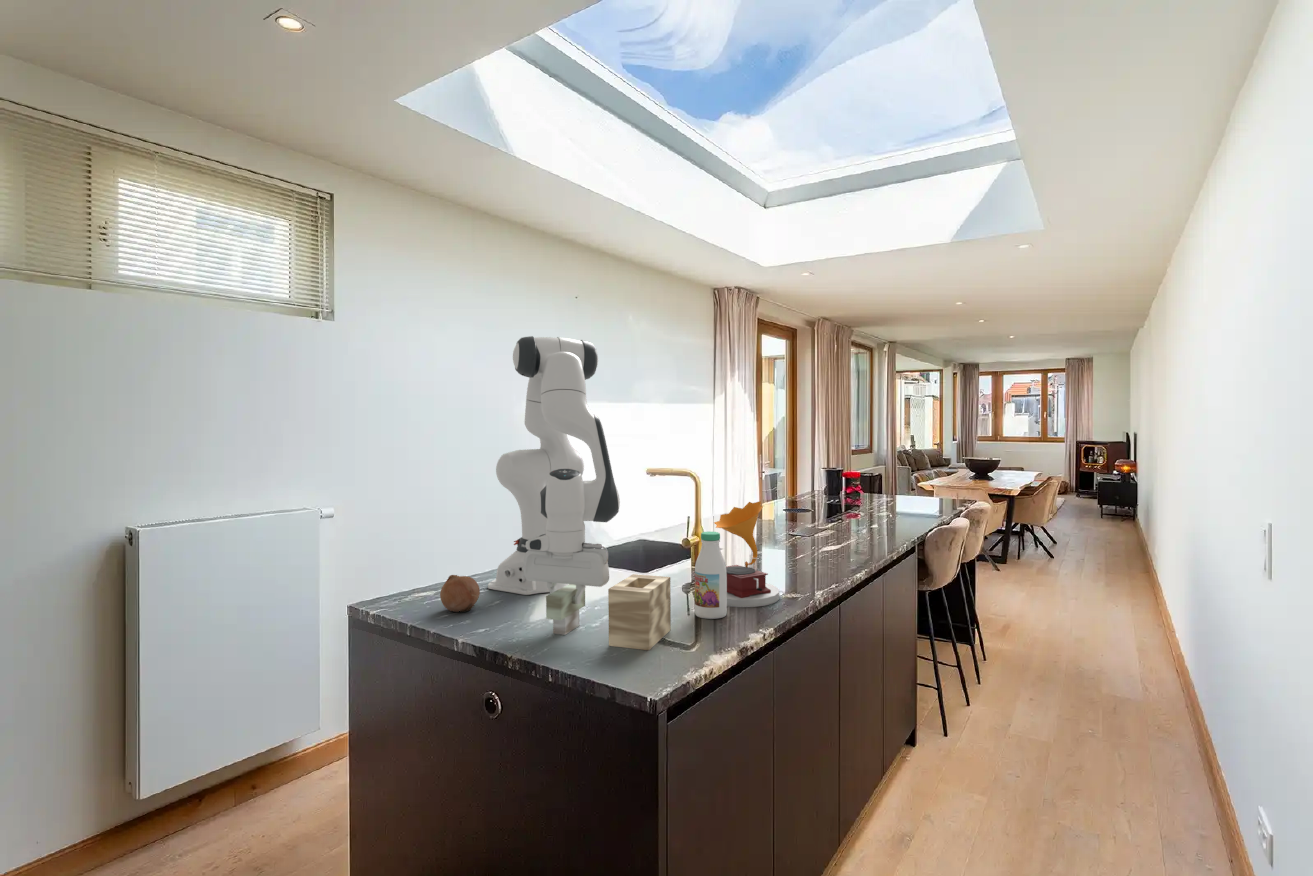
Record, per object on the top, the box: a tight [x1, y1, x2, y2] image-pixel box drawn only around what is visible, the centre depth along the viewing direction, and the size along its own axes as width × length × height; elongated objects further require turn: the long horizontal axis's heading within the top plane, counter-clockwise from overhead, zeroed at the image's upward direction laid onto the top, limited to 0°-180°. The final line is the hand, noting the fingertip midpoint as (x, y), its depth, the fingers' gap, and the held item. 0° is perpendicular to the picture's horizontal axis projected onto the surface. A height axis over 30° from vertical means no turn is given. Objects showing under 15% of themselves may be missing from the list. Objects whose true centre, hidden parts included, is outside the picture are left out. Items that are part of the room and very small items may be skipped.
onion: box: [439, 574, 481, 613], centre depth 171 cm, size 10×9×10 cm
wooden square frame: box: [607, 573, 672, 651], centre depth 149 cm, size 14×9×12 cm, turn 160°
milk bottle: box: [694, 531, 728, 620], centre depth 165 cm, size 8×8×20 cm
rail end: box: [545, 584, 586, 636], centre depth 155 cm, size 12×4×9 cm, turn 160°
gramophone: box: [713, 501, 780, 608], centre depth 182 cm, size 20×20×25 cm
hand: (566, 602), depth 155 cm, fingers closed on rail end, 4 cm apart
